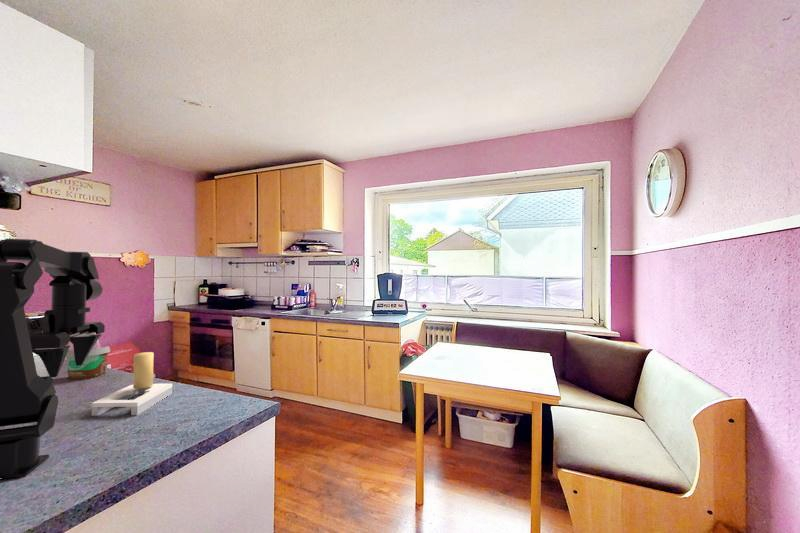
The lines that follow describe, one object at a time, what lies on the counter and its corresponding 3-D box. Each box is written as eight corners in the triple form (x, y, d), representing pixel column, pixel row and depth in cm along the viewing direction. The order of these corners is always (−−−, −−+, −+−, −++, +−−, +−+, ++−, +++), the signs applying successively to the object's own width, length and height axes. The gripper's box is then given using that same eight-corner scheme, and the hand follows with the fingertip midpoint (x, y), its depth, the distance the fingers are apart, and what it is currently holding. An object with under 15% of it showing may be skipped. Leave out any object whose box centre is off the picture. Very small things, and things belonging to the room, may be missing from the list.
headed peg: (154, 399, 93) (156, 353, 93) (135, 404, 89) (136, 356, 89) (149, 395, 95) (150, 351, 95) (130, 400, 92) (131, 354, 92)
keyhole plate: (137, 415, 83) (137, 402, 83) (91, 415, 82) (91, 403, 82) (172, 394, 96) (172, 383, 97) (133, 394, 96) (133, 383, 96)
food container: (52, 383, 104) (53, 351, 104) (66, 376, 110) (67, 347, 110) (98, 380, 107) (99, 349, 108) (109, 374, 113) (110, 345, 114)
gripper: (52, 301, 83) (50, 362, 83) (-13, 310, 65) (-15, 388, 65) (106, 300, 86) (104, 359, 86) (59, 308, 69) (57, 382, 68)
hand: (67, 370), depth 76 cm, fingers open, 9 cm apart
